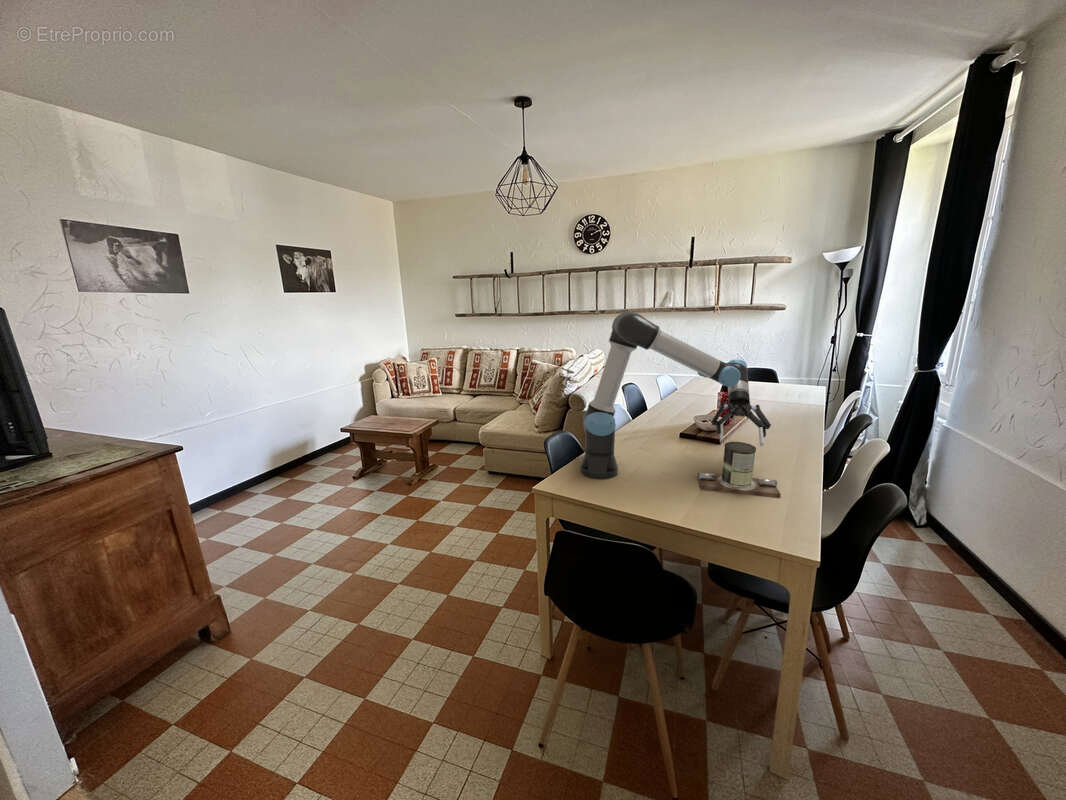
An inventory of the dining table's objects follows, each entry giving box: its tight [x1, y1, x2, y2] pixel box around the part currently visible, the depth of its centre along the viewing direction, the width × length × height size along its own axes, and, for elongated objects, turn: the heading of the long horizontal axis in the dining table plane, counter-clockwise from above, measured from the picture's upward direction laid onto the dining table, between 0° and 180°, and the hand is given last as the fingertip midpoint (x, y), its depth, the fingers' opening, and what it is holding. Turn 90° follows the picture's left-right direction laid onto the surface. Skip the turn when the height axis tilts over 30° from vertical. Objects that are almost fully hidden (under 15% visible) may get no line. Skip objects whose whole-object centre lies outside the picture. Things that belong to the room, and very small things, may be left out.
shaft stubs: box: [698, 472, 778, 488], centre depth 152 cm, size 26×2×2 cm, turn 74°
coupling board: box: [696, 472, 781, 499], centre depth 152 cm, size 26×13×2 cm, turn 74°
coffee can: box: [721, 441, 757, 488], centre depth 150 cm, size 10×10×14 cm
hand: (741, 442), depth 152 cm, fingers open, 13 cm apart
